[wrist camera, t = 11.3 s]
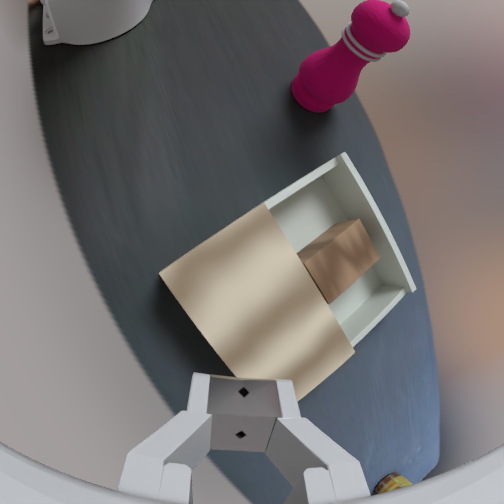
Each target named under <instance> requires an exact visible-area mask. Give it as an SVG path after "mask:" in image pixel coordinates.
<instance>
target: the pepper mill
mask: <svg viewBox="0 0 504 504" xmlns="http://www.w3.org/2000/svg"><path fill="white" fill-rule="evenodd" d="M408 14H409V7H408V5H407V4H406V3H405V2H402V1H399V0H397V1H394V2H392V4H391V5H390V4H388V3H386V2H383V1H379V0H367V1H364V2H362V3H360V4H359V5H358V6H357V7H356V8H355V9H354V11H353V13H352V15H351V22H349V23H348V24H347V25H346V27H344V28H343V30H342V38H341V39H340V40H339V41H338V42H337V43H336V44H335V45H333V46H331V47H328V48H325V49H322V50H318V51H316V52H314V53H312V54H311V55H309V56H308V57H307V58H306V59H305V60H304V61H303V62H302V63H301V65H300V69H299V73H298V75H297V76H296V77H295V78H294V80H293V81H292V84H291V90H292V93H293V96H294V98H295V99H296V101H297V102H298V103H299V104H300V105H301V106H303V107H304V108H306V109H307V110H310V111H312V112H318V113H320V112H325V111H327V110H329V109H330V108H331V107H332V106H333V105H335V104H336V103H341V102H343V101H345V100H347V99H348V98H349V97H350V95H351V94H352V93H353V92H354V90H355V88H356V86H357V82H358V78H359V75H360V72H361V70H362V68H363V67H364V66H365V65H366V64H367V63H369V62H376V61H379V60H380V59H381V57H384V56H385V55H386V53H387V52H396V51H398V50H400V49H402V48H403V47H404V46H405V45H406V44H407V42H408V40H409V37H410V28H409V25H408V22H407V21H406V19H405V16H407V15H408Z"/></svg>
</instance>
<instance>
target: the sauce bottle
mask: <svg viewBox="0 0 504 504" xmlns="http://www.w3.org/2000/svg"><path fill="white" fill-rule="evenodd" d="M409 485H412V483H411V482H410V481H408V480H407V479H406V478H405V477H403V476H401V475H400V474H399V473H391V474H389V475H388V476H386V477H385V478H384V479H382V480H381V481H380V483H378V485H377V487H376V489H375V494H381V493H384V492H388V491H392V490H395V489H399V488H402V487H406V486H409Z"/></svg>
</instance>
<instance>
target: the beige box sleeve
mask: <svg viewBox="0 0 504 504" xmlns="http://www.w3.org/2000/svg"><path fill="white" fill-rule="evenodd" d="M159 275H160V276H161V277H162V279H163V280H164V282H165V283H166V285H167V286H168V288H169V289H170V291H171V292H172V293H173V295H174V296H175V298H176V299H177V300H178V302H179V303H180V305H181V306H182V307H183V309H184V310H185V312H186V313H187V314H188V316H189V317H190V318H191V320H192V321H193V322H194V324H195V325H196V326H197V328H198V329H199V330H200V332H201V333H202V334H203V336H204V337H205V338H206V340H207V341H208V342H209V344H210V345H211V346H212V347H213V349H214V350H215V351H216V353H217V354H218V355H219V356H220V358H221V359H222V360H223V361H224V363H225V364H226V365H227V366H228V368H229V369H230V370H231V371H232V372H233V374H234V375H235V376H236V377H238V378H253V379H274V380H275V379H285V380H291V381H292V382H293V386H294V390H295V394H296V398H297V402H298V401H299V400H300V399H301V398H303V397H304V396H305V395H307V394H308V393H309V392H310V391H311V390H313V389H314V388H315V387H316V386H317V385H319V384H320V383H321V382H322V381H323V380H325V379H326V378H327V377H328V376H329V375H330V374H332V373H333V372H334V371H335V370H336V369H337V368H338V367H340V366H341V365H342V364H343V363H344V362H345V361H346V360H347V359H348V358H349V357H351V356H352V355H353V354H354V353H355V351H354V349H353V347H352V345H351V344H350V342H349V340H348V339H347V337H346V335H345V333H344V332H343V330H342V328H341V327H340V325H339V323H338V321H337V320H336V318H335V316H334V315H333V313H332V311H331V310H330V308H329V306H328V305H327V303H326V301H325V300H324V298H323V296H322V295H321V293H320V291H319V290H318V288H317V286H316V285H315V283H314V281H313V280H312V278H311V276H310V275H309V273H308V272H307V270H306V268H305V267H304V265H303V263H302V262H301V260H300V259H299V257H298V255H297V254H296V252H295V251H294V249H293V247H292V246H291V244H290V243H289V241H288V239H287V238H286V236H285V235H284V233H283V231H282V230H281V228H280V227H279V225H278V224H277V222H276V220H275V219H274V217H273V216H272V214H271V213H270V211H269V210H268V208H267V206H266V205H265V203H262V204H261V205H259V206H257V207H256V208H254V209H252V210H251V211H249V212H247V213H246V214H244V215H243V216H241V217H240V218H238V219H237V220H235V221H233V222H232V223H230V224H229V225H227V226H226V227H224V228H223V229H221V230H220V231H218V232H217V233H215V234H214V235H212V236H211V237H209V238H208V239H206V240H205V241H204V242H202V243H201V244H199V245H198V246H196V247H195V248H193V249H192V250H190V251H189V252H187V253H186V254H184V255H183V256H182V257H180V258H179V259H177V260H176V261H174V262H173V263H171V264H170V265H169V266H167V267H166V268H164V269H163V270H161V271H160V272H159Z"/></svg>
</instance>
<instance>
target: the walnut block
mask: <svg viewBox="0 0 504 504" xmlns="http://www.w3.org/2000/svg"><path fill="white" fill-rule="evenodd" d="M296 254H297V255H298V257H299V259H300V260H301V262H302V263H303V265H304V267H305V268H306V270H307V272H308V273H309V275H310V276H311V278H312V280H313V281H314V283H315V285H316V286H317V288H318V290H319V291H320V293H321V295H322V296H323V298H324V300H325V301H326V303H327V304H330V303H332V302H333V301H334V300H335V299H336V298H337V297H338V296H340V295H341V294H342V293H343V292H344V291H345V290H346V289H347V288H349V287H350V286H351V285H352V284H353V283H354V282H355V281H356V280H357V279H358V278H360V277H361V276H362V275H363V274H364V273H365V272H366V271H367V270H368V269H369V268H370V267H371V266H372V265H373V264H374V263H375V262H377V261H378V260H379V259H380V256H379V254H378V252H377V250H376V249H375V247H374V245H373V243H372V241H371V239H370V237H369V235H368V233H367V232H366V230H365V228H364V226H363V224H362V223H361V221H360V219H355V220H350V221H345V222H340V223H336V224H334V225H333V226H331V227H330V228H329V229H327V230H326V231H325V232H324V233H322V234H321V235H320V236H318V237H317V238H316V239H314V240H313V241H312V242H311V243H309V244H308V245H307V246H305V247H304V248H303V249H301V250H300V251H299V252H297V253H296Z"/></svg>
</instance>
